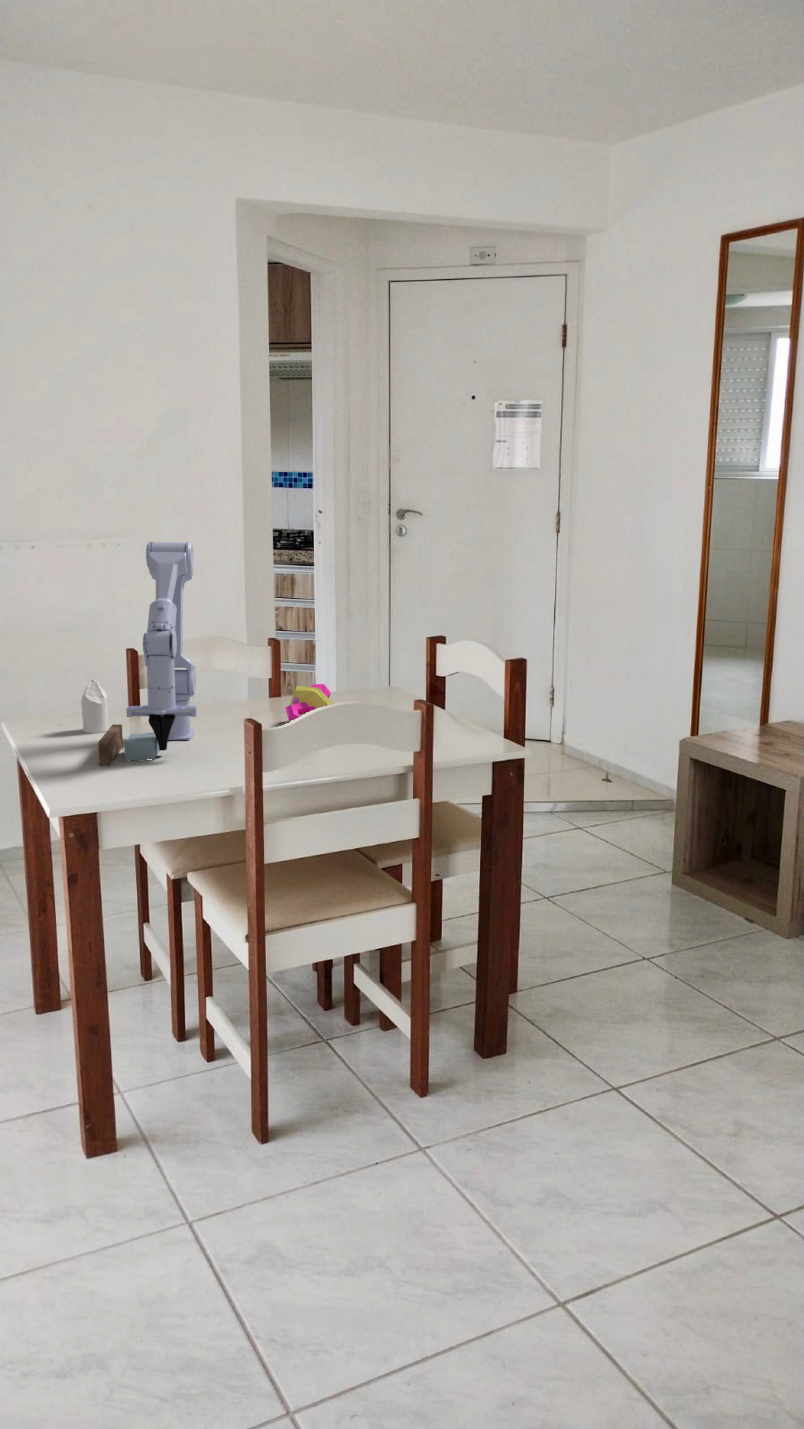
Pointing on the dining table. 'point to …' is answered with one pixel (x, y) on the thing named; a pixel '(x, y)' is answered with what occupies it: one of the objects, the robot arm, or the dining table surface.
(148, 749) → the slate block
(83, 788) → the dining table surface
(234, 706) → the dining table surface
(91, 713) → the crumpled white cylinder
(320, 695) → the toy
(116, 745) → the walnut board
